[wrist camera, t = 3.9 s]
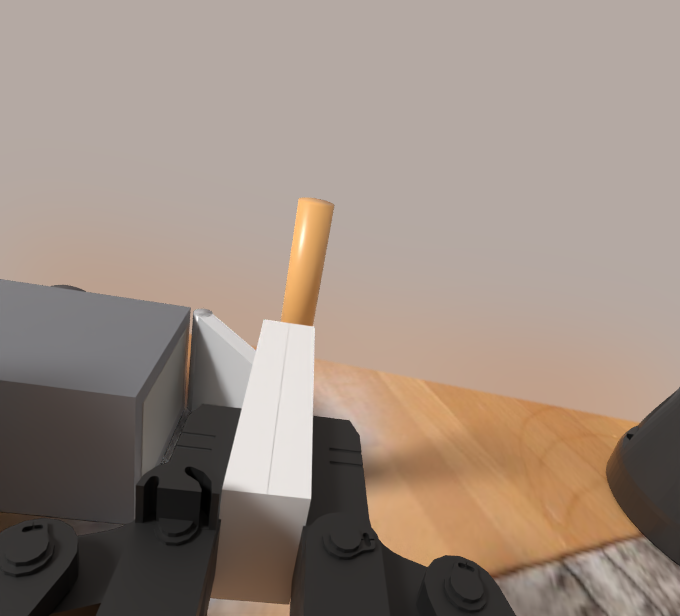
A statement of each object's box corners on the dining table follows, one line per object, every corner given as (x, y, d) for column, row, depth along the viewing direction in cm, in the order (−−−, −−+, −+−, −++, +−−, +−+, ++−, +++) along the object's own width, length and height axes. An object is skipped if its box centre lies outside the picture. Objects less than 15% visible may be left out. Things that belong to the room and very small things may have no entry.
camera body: (192, 391, 36) (200, 283, 33) (134, 525, 25) (136, 382, 21) (-5, 365, 35) (-19, 249, 31) (-162, 495, 23) (-210, 337, 20)
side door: (202, 399, 35) (221, 156, 28) (288, 494, 28) (341, 207, 21) (181, 405, 34) (196, 155, 27) (265, 506, 27) (314, 207, 20)
